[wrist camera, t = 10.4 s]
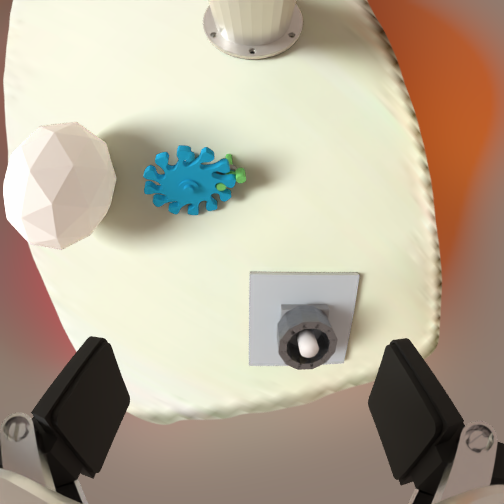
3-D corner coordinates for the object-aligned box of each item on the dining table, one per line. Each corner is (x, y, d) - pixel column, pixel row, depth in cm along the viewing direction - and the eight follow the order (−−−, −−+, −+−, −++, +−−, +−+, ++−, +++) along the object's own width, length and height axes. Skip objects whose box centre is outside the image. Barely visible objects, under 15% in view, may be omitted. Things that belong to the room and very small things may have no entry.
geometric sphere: (128, 175, 37) (152, 206, 27) (56, 240, 34) (51, 298, 24) (77, 99, 28) (73, 90, 17) (-1, 172, 25) (-38, 206, 14)
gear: (152, 222, 32) (131, 160, 24) (157, 186, 35) (141, 125, 26) (244, 215, 33) (248, 150, 25) (240, 180, 36) (243, 117, 28)
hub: (278, 305, 34) (280, 321, 30) (332, 305, 34) (340, 320, 30) (275, 351, 35) (277, 369, 32) (325, 350, 35) (332, 367, 32)
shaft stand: (249, 271, 35) (248, 294, 28) (357, 272, 35) (377, 293, 28) (249, 361, 39) (247, 393, 32) (342, 359, 39) (354, 389, 32)
